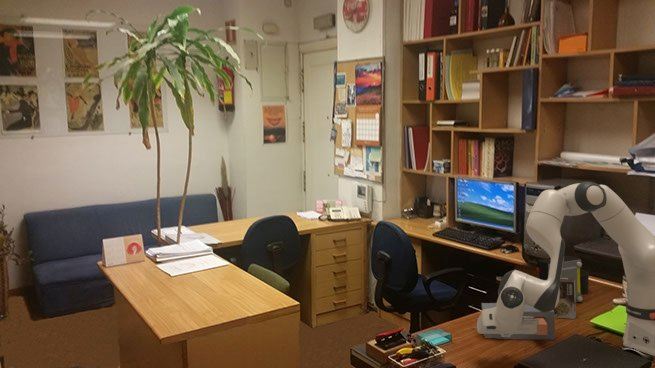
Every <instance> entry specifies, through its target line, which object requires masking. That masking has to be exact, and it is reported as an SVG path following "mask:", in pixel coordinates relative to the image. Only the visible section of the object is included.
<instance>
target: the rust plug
mask: <svg viewBox="0 0 655 368" xmlns="http://www.w3.org/2000/svg"><path fill="white" fill-rule="evenodd" d="M534 318H535V319H539V324H538V325H537V333H536V335H548V333H547V323H546V321H545V320H544V318H543V317H534Z"/></svg>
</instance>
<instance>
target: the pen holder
mask: <svg viewBox="0 0 655 368" xmlns="http://www.w3.org/2000/svg"><path fill="white" fill-rule="evenodd" d="M589 275H590V272H589V271H587V270H584V269H582V270H581V294H582V296H584V295H587V294H588V293H589V281H590V279H589V278H590V277H589Z"/></svg>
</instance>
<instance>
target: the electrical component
mask: <svg viewBox="0 0 655 368" xmlns="http://www.w3.org/2000/svg"><path fill="white" fill-rule="evenodd" d="M550 263H551V258H544V259H538V260H537V267H536V270H537V272H538V273H539V274H538V275H539V276H538V278H539V279H541V280H547V279H548V275H549V269H550ZM582 265H583V263H582V259H581V258H580V257H576V256H572V255H564V261H563V267H562V274H561V277H562V278H575V301H576V303H580V302H582V301H583V299H584V298H583V295H582V294H581V269H582Z"/></svg>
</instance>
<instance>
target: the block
mask: <svg viewBox="0 0 655 368" xmlns="http://www.w3.org/2000/svg"><path fill="white" fill-rule="evenodd" d="M496 304H497V302H489V303H488V302H486V303H485V302H481V311H482V310H484V309H490V308H494V307H496ZM523 316H532V317H543V318H544V320H545V321H546V323H547V333H548V335H536V334H512V335H510V337H501V335H500V334H483V337H484V336H485V337H487V338H488V337H490V338H498V339H497V340H556V326H555V324H556V323H555V320H556V319H555V318H556V317H554V310H552V311H549V312H544V313H543V312H541V311H539V310H537V309H535V308H534V307H532V306H529V305H527V304H525V308H524V313H523ZM485 337H484V338H485Z"/></svg>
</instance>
